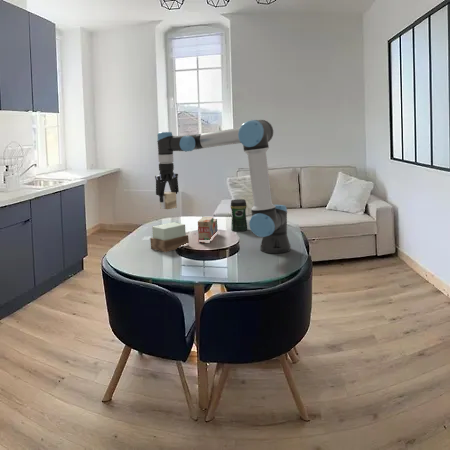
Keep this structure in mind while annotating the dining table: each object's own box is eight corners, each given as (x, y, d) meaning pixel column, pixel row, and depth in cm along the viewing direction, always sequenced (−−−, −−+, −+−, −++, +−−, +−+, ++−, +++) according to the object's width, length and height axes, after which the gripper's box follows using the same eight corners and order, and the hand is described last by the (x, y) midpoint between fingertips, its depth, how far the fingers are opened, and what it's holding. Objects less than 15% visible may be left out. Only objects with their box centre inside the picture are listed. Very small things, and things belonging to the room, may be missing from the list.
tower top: (185, 235, 265) (185, 224, 264) (164, 240, 256) (163, 229, 254) (174, 233, 272) (173, 222, 271) (152, 237, 263) (152, 226, 262)
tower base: (188, 246, 267) (188, 235, 265) (165, 252, 255) (165, 241, 254) (174, 243, 275) (173, 232, 273) (151, 249, 263) (150, 238, 262)
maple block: (176, 207, 260) (175, 192, 258) (167, 209, 256) (167, 193, 254) (169, 206, 264) (168, 191, 262) (160, 208, 260) (159, 193, 258)
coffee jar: (246, 228, 304) (246, 198, 300) (247, 231, 296) (247, 200, 292) (230, 228, 303) (229, 198, 300) (231, 231, 296) (230, 200, 292)
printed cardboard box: (207, 234, 292) (206, 213, 289) (217, 234, 291) (217, 213, 288) (198, 243, 272) (197, 221, 269) (209, 243, 270) (208, 221, 268)
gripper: (175, 160, 264) (177, 204, 269) (146, 164, 251) (149, 209, 256) (184, 161, 259) (186, 205, 264) (156, 164, 246) (158, 211, 251)
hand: (168, 207), depth 260 cm, fingers closed on maple block, 6 cm apart
